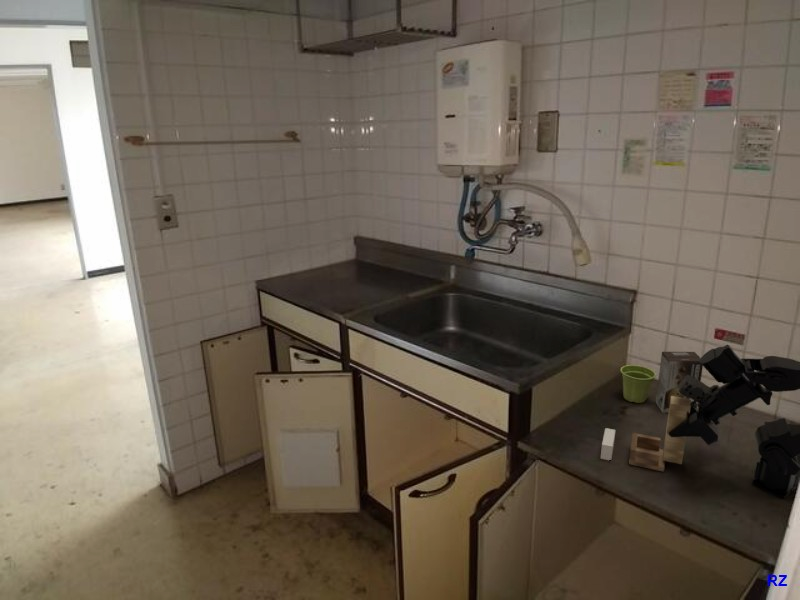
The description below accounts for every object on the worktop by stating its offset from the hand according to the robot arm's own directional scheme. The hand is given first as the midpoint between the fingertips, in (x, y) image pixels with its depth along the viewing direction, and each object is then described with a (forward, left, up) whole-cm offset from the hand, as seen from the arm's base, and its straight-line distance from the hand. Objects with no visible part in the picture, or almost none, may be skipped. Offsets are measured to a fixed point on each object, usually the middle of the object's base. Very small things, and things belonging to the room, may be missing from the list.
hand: (669, 430), depth 129 cm
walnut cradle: (+3, +2, -9) cm, 10 cm away
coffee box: (+13, -27, -9) cm, 31 cm away
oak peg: (-1, -1, -7) cm, 7 cm away
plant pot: (+23, -23, -9) cm, 34 cm away
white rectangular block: (+11, +6, -9) cm, 16 cm away
